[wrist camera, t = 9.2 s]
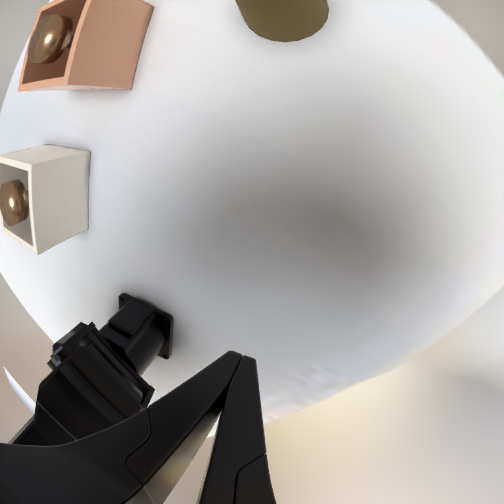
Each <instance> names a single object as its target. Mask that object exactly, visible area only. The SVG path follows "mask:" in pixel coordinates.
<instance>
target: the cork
mask: <svg viewBox="0 0 504 504" xmlns="http://www.w3.org/2000/svg"><path fill="white" fill-rule="evenodd" d="M236 3H237V5H238V7H239V9H240V11H241V14H242V16H243V18H244V20H245V22H246V23H247V25H248V26H249V28H250V29H251V30H252V31H254V32H255V33H256V34H257V35H259V36H261V37H264V38H266V39H269V40H272V41H281V42H289V41H298V40H301V39H304V38H306V37H309V36H312V35H313V34H314V33H315V32H317V31H318V30H319V29H321V28H322V26H323V25H324V23H325V22H326V20H327V17H328V11H329V8H328V4H327V0H236Z"/></svg>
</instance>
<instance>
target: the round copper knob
mask: <svg viewBox="0 0 504 504" xmlns="http://www.w3.org/2000/svg"><path fill="white" fill-rule="evenodd" d="M0 210H1V214H2V216H3V219H4V221H5V222H6V224H7V225H8V226H14V225H16V224H18V223H20V222H22V221H24V220H26V219H27V217H28V213H29V190H28V191H26V189H25V187H24V185H23V183H22V182H21V181H20V180H19V179H16V180H13V181H10V182H7V183H4V184H2V185H1V186H0Z"/></svg>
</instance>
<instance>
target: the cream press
mask: <svg viewBox="0 0 504 504" xmlns="http://www.w3.org/2000/svg"><path fill="white" fill-rule="evenodd" d="M90 154H91V152H90V151H85V150H79V149H74V148H68V147H62V146H56V145H50V144H46V145H41V146H36V147H31V148H27V149H22V150H18V151H14V152H10V153H6V154H2V155H0V186H1V185H2V184H4V183H7V182H10V181H13V180H16V179H19V180H20V181H21V182H22V183H23V185H24V187H25V189H26V191H28V190H29V213H28V217H27V219H26V220H24V221H22V222H20V223H18V224H16V225H14V226H8V225H7V224H6V222H5V221H4V219H3V216H2V214H1V210H0V216H1V224H2V231H4V232H5V233H6V234H8V235H9V236H11V237H12V238H13V239H15V240H16V241H18V242H19V243H20V244H22V245H23V246H25V247H26V248H28V249H29V250H31V251H32V252H34V253H35V254H37V255H39V254H41V253H43V252H44V251H46V250H48V249H50V248H52V247H54V246H55V245H57V244H59V243H61V242H63V241H65V240H67V239H69V238H71V237H72V236H74V235H76V234H78V233H80V232H82V231H84V230H86V229H88V186H89V167H90Z"/></svg>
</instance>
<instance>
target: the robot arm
mask: <svg viewBox="0 0 504 504" xmlns="http://www.w3.org/2000/svg"><path fill="white" fill-rule="evenodd" d="M167 319H168V320H167ZM172 323H173V319H172V317H171V316H170V315H169V314H166V313H164V312H162V311H160V310H157V309H155V308H153V307H151V306H149V305H147V304H144V303H142V302H140V301H138V300H136V299H134V298H132V297H130V296H128V295H126V294H124V293H122V294H121V295H119V311H118V312H117V313H116V314H115V315H113V316H112V317H111V318H110V319H109V320H108V323H107V324H106V325H104V326H103V327H102V328H101V329H100V330H99V331H98V329H97V328H96V327H95V324H94V323H93V322H91V323H90V324H89V325H87V324H84V323H82V322H80V323H79V324H78V325H77V326H76V327H75V328H73V329H72V330H71V331H70V332H69V333H67V334H66V335H65V336H64V337H62V338H61V339H60V340H58V341H57V342H56V343H55V344H54V345H53V354H52V355H51V358H52V359H51V360H50V361H49V362H48V363H47V364H48V365H49V367H50V368H51V369H52V371H51V372H50V373H49V374H48V375H47V376H46V377H45V378H44V379H43V381H42V382H41V383H40V385H39V389H38V395H37V401H36V408H35V414H34V415H33V417H32V418H31V419H30V420H29V421H28V422H27V423H26V424H25V425H24V426H23V427H22V428H21V429H20V431H19V432H18V433H17V434H16V435H15V436H14V437H13V438H12V440H10V442H8V444H6V443H0V504H163V502H164V501H165V500H166V498H167V497H168V495H169V494H170V492H171V491H172V489H173V488H174V487H175V485H176V484H177V482H178V481H179V479H180V478H181V476H182V475H183V473H184V472H185V470H186V468H187V467H188V465H189V464H190V462H191V461H192V459H193V458H194V456H195V455H196V453H197V451H198V450H199V448H200V447H201V445H202V444H203V442H204V440H205V439H206V437H207V436H208V434H209V432H210V431H211V429H212V427H213V426H214V424H215V422H216V421H217V419H218V417H219V415H220V418H219V421H218V425H217V429H216V433H215V436H214V440H213V444H212V448H211V452H210V455H209V459H208V463H207V466H206V470H205V474H204V477H203V481H202V485H201V488H200V492H199V496H198V499H197V503H196V504H276V500H275V497H274V493H273V489H272V485H271V480H270V474H269V469H268V460H267V455H266V444H265V436H264V428H263V418H262V410H261V401H260V392H259V383H258V374H257V365H256V360H255V359H254V358H251V357H249V356H246V355H244V356H242V354H240V353H237V352H234V351H228V352H227V353H225V354H224V355H222V356H221V357H220V358H218V359H217V360H216V361H214V362H213V363H211V364H210V365H209V366H207V367H206V368H204V369H203V370H201V371H200V372H199V373H197V374H196V375H194V376H193V377H191V378H190V379H188V380H187V381H186V382H184V383H183V384H181V385H180V386H178V387H177V388H175V389H174V390H172V391H171V392H169V393H168V394H166V395H165V396H163V397H162V398H160V399H159V400H157V401H155V402H154V403H152V404H151V405H149V406H148V404H149V402H150V400H151V397H152V395H153V393H154V391H155V389H154V388H153V387H152V386H151V385H149V384H148V383H147V382H146V381H145V380H144V379H143V378H142V377H141V375H142V374H143V373H144V372H145V370H146V369H147V368H148V366H149V365H150V364H151V362H152V361H153V360H154V359H155V357H156V356H157V355H158V356H160V357H162V358H164V359H169V357H170V356H171V338H172ZM147 406H148V408H147ZM220 413H221V414H220Z"/></svg>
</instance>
